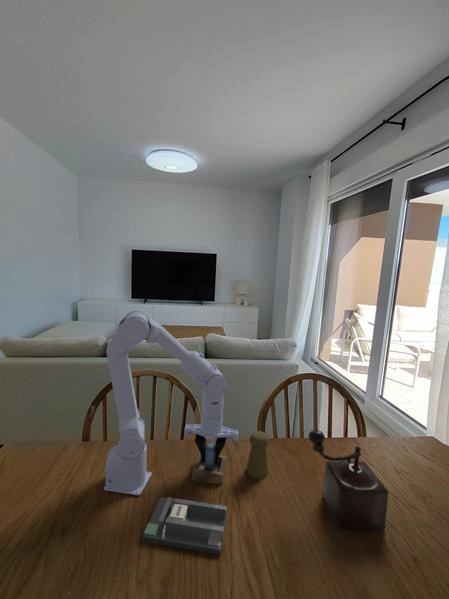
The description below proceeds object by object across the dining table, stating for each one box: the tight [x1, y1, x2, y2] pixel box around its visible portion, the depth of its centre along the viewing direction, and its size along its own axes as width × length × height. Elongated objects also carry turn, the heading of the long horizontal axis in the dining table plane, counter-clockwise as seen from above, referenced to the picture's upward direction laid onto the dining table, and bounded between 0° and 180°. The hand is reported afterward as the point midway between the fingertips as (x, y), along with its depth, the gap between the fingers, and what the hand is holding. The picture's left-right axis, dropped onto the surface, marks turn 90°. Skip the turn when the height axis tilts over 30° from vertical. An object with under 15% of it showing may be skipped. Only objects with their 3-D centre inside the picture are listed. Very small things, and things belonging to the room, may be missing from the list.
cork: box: [246, 430, 270, 480], centre depth 82 cm, size 6×6×11 cm
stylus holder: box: [191, 451, 227, 485], centre depth 81 cm, size 8×8×3 cm
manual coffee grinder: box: [308, 429, 389, 532], centre depth 69 cm, size 16×11×18 cm
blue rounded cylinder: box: [205, 443, 216, 471], centre depth 81 cm, size 3×3×6 cm
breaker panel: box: [142, 496, 228, 556], centre depth 64 cm, size 16×10×3 cm, turn 82°
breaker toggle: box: [170, 504, 188, 521], centre depth 64 cm, size 3×3×2 cm
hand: (210, 461), depth 81 cm, fingers closed on blue rounded cylinder, 3 cm apart
